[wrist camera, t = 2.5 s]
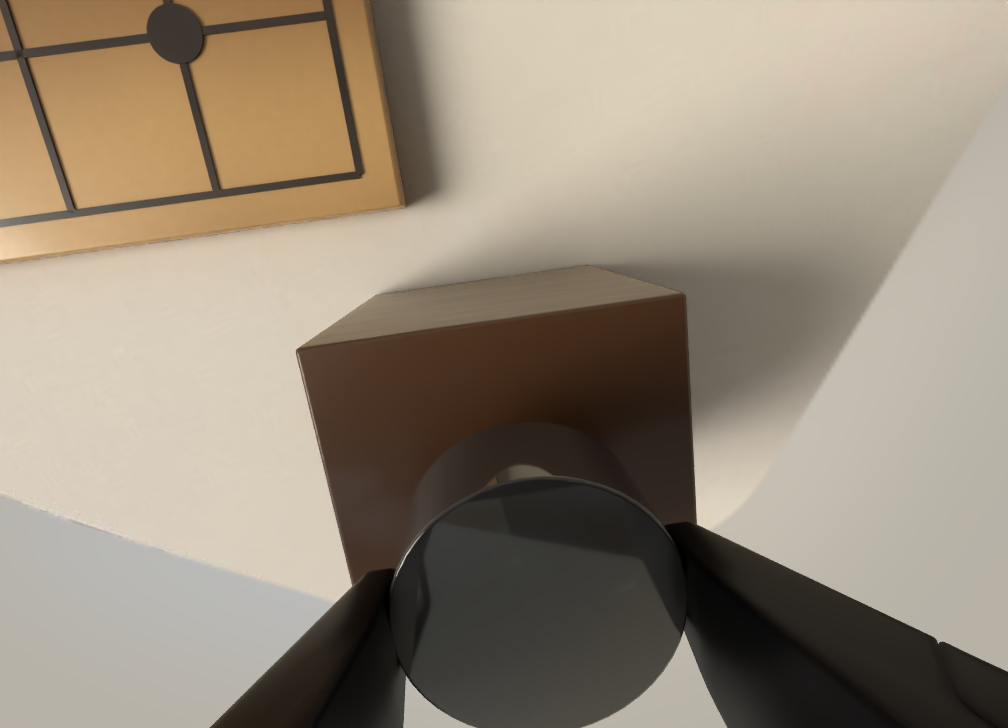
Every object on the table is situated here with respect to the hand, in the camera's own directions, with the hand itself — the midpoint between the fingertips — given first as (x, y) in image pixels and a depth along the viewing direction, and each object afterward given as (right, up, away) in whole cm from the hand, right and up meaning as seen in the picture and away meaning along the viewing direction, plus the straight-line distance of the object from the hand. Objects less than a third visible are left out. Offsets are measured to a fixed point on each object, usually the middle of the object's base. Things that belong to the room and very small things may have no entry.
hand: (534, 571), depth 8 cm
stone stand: (-1, +3, +10) cm, 10 cm away
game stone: (0, 0, +1) cm, 1 cm away
